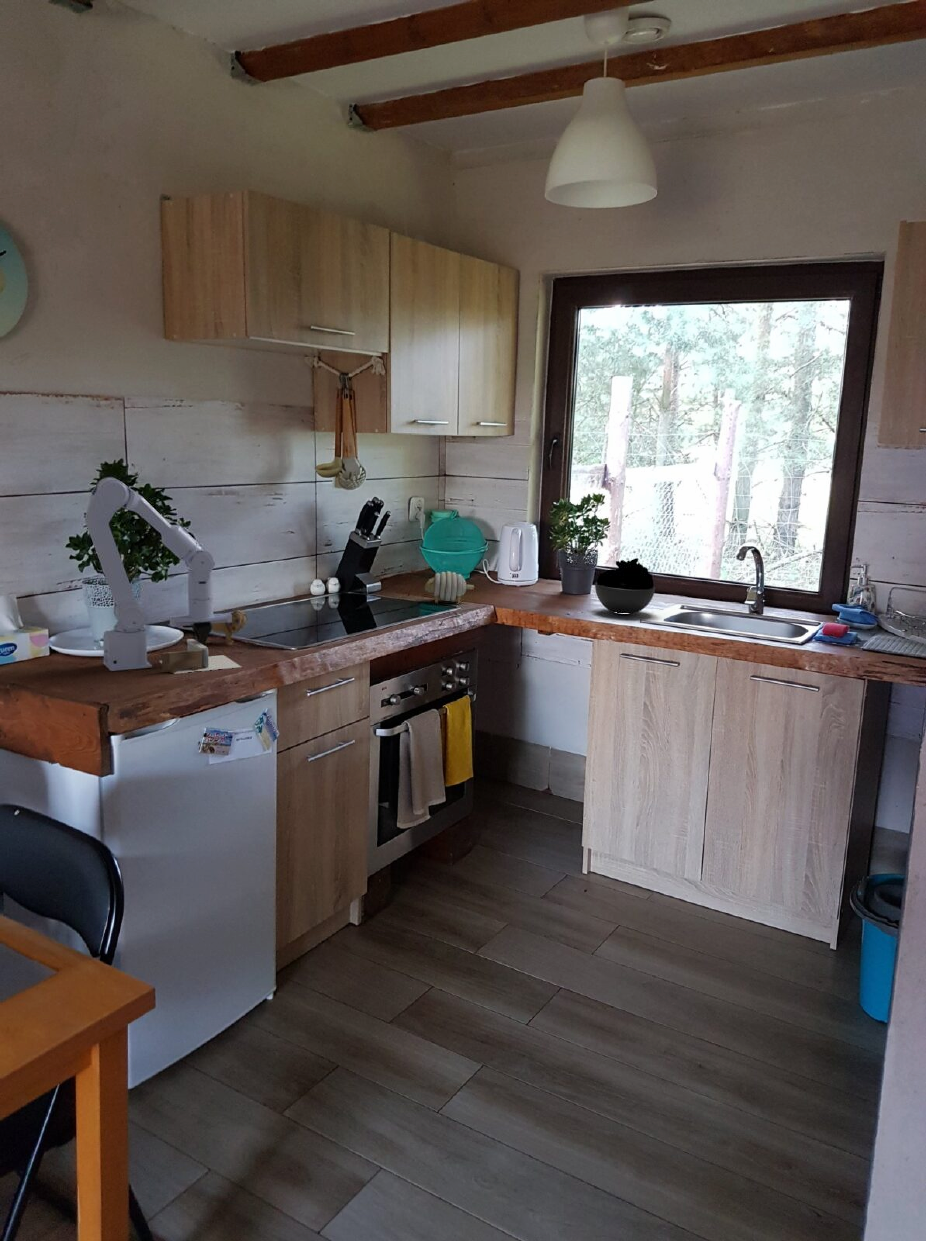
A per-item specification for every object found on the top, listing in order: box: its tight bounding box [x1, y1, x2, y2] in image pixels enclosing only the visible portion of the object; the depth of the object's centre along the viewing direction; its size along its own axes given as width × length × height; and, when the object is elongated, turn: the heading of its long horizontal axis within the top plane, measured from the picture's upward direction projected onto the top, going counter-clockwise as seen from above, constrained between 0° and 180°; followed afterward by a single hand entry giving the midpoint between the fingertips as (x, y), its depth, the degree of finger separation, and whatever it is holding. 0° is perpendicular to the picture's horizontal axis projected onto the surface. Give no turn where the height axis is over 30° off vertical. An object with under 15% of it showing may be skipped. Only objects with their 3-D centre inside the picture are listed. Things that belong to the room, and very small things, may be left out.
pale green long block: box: [186, 638, 209, 667], centre depth 228 cm, size 12×2×4 cm, turn 35°
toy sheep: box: [424, 570, 475, 603], centre depth 325 cm, size 11×17×11 cm, turn 98°
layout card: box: [159, 654, 243, 675], centre depth 228 cm, size 16×13×1 cm
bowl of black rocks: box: [594, 557, 656, 614], centre depth 318 cm, size 20×20×19 cm
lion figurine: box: [191, 609, 247, 646], centre depth 251 cm, size 15×5×9 cm, turn 88°
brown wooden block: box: [161, 649, 202, 674], centre depth 221 cm, size 9×4×4 cm, turn 123°
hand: (201, 653), depth 230 cm, fingers closed
